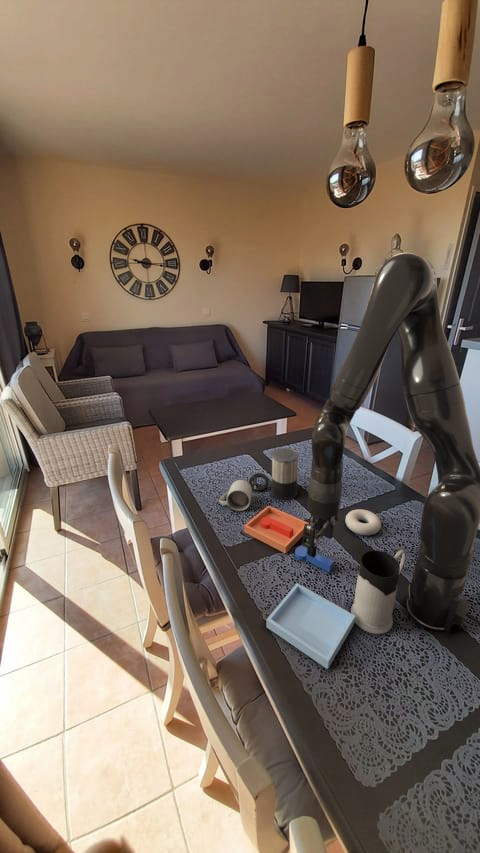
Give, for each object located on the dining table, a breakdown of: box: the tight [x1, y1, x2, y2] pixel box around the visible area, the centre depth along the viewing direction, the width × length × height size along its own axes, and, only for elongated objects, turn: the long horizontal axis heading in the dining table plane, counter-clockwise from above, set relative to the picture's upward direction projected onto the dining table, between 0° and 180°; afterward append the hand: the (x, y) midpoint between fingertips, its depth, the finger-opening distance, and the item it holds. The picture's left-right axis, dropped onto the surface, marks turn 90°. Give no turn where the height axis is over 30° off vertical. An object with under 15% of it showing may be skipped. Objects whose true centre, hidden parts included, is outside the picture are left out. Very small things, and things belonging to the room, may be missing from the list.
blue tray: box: [266, 582, 356, 670], centre depth 77 cm, size 14×12×2 cm
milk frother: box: [247, 447, 300, 500], centre depth 123 cm, size 14×16×15 cm
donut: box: [344, 508, 382, 536], centre depth 106 cm, size 10×3×10 cm
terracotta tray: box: [243, 505, 310, 554], centre depth 105 cm, size 14×12×2 cm
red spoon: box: [261, 517, 294, 538], centre depth 105 cm, size 10×4×2 cm, turn 51°
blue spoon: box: [294, 545, 335, 573], centre depth 94 cm, size 10×4×2 cm, turn 51°
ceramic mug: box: [218, 479, 253, 512], centre depth 117 cm, size 11×8×8 cm
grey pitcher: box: [350, 549, 407, 635], centre depth 78 cm, size 9×14×15 cm, turn 126°
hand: (319, 546), depth 92 cm, fingers open, 8 cm apart
